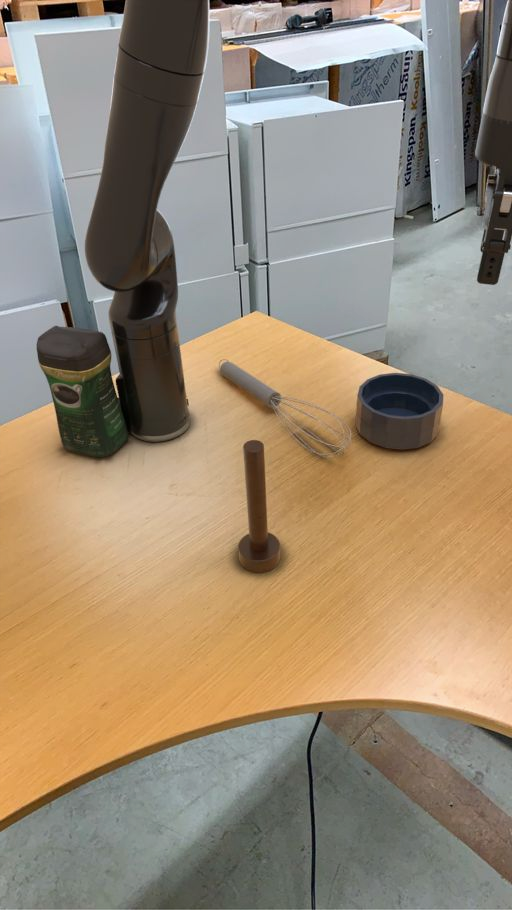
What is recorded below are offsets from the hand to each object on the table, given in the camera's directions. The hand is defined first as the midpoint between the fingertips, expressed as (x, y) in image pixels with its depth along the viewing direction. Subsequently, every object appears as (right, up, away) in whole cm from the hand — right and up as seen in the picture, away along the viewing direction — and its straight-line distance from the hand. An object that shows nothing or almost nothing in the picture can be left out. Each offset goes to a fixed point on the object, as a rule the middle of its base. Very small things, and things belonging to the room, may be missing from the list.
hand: (488, 267), depth 74 cm
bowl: (-5, -17, +25) cm, 31 cm away
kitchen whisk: (-24, -15, +29) cm, 40 cm away
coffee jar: (-51, -20, +25) cm, 60 cm away
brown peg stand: (-26, -34, +5) cm, 43 cm away
